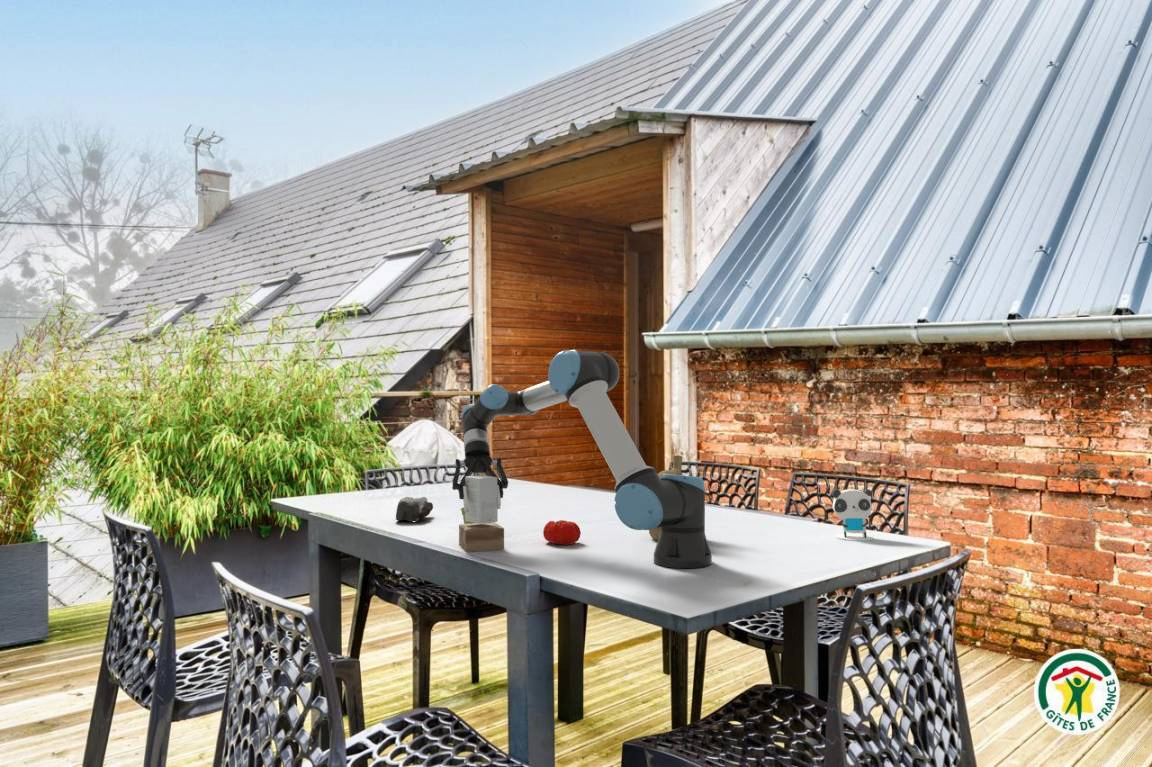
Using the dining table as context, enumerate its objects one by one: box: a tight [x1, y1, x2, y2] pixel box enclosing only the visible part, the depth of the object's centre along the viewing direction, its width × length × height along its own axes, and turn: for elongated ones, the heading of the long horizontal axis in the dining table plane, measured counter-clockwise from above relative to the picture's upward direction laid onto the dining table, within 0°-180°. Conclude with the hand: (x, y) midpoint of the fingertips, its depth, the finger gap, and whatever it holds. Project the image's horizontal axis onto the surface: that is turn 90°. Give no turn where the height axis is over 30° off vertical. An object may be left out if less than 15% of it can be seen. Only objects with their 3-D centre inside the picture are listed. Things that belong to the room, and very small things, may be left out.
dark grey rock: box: [395, 496, 434, 522], centre depth 288 cm, size 18×11×8 cm, turn 2°
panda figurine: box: [830, 488, 874, 542], centre depth 252 cm, size 12×11×15 cm
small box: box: [465, 475, 499, 524], centre depth 237 cm, size 8×6×13 cm
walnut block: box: [458, 522, 505, 553], centre depth 237 cm, size 11×11×6 cm
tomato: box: [542, 519, 581, 546], centre depth 243 cm, size 10×11×6 cm
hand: (482, 506), depth 234 cm, fingers closed on small box, 9 cm apart
